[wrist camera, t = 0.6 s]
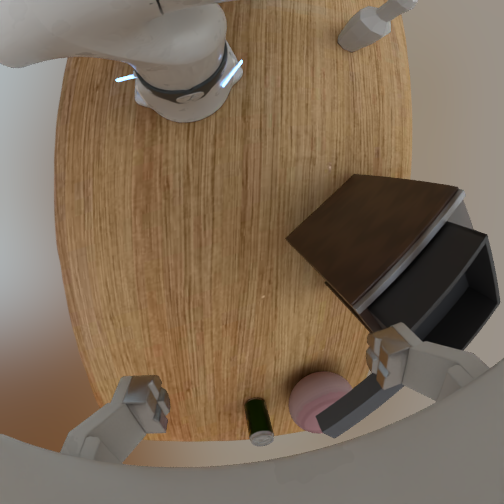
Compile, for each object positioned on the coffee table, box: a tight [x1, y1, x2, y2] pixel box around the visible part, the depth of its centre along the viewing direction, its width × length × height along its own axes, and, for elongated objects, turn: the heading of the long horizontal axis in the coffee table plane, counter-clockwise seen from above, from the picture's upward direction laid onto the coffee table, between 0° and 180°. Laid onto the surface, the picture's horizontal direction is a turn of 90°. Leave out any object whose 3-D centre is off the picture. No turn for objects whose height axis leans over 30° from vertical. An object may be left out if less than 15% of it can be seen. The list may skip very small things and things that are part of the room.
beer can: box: [244, 398, 274, 446], centre depth 55 cm, size 5×5×12 cm
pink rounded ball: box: [289, 371, 352, 433], centre depth 54 cm, size 15×15×15 cm
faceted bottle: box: [338, 0, 418, 52], centre depth 29 cm, size 6×6×22 cm
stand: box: [285, 174, 474, 333], centre depth 38 cm, size 18×14×27 cm
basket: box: [315, 221, 500, 438], centre depth 24 cm, size 24×11×6 cm, turn 133°
